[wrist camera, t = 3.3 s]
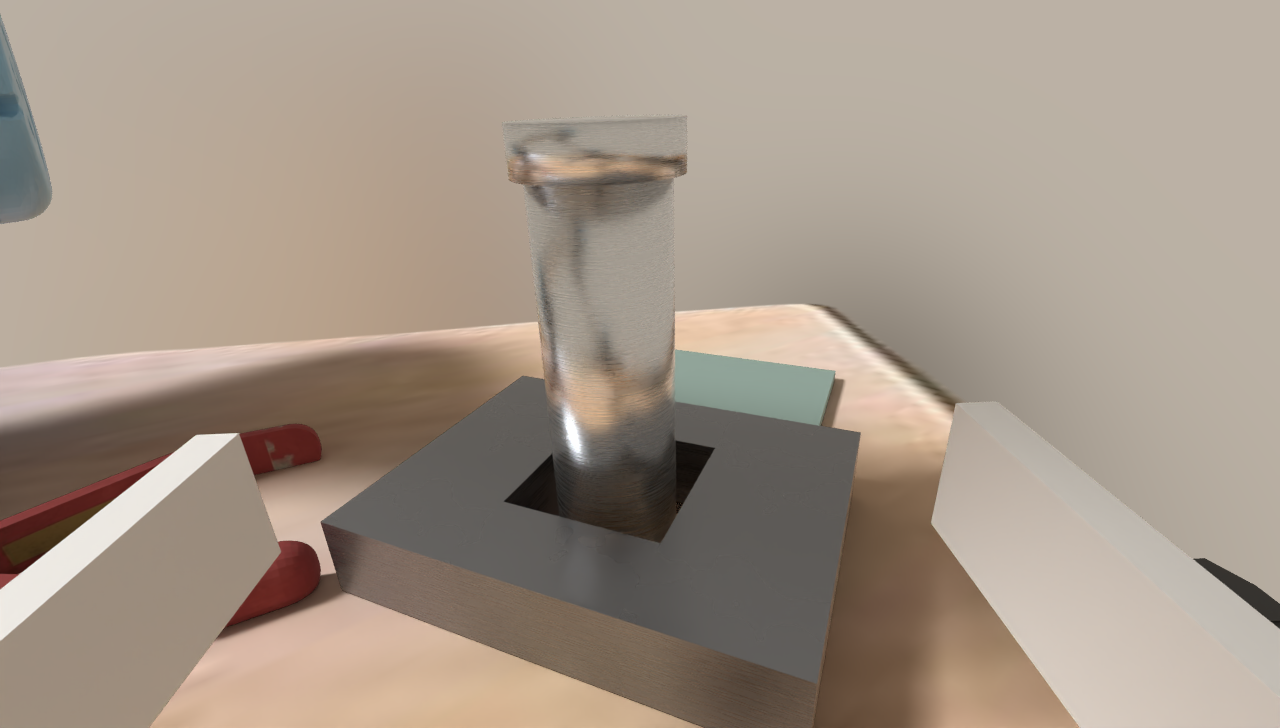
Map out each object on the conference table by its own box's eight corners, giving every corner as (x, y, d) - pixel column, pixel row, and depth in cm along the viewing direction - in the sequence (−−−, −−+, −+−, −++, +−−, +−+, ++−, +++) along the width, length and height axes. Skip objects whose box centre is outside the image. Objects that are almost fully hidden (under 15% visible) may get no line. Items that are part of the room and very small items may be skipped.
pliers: (-258, 590, 22) (-305, 536, 21) (327, 453, 30) (315, 408, 29) (-681, 943, 13) (-804, 877, 12) (327, 612, 21) (308, 554, 20)
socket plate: (342, 590, 21) (320, 521, 20) (529, 427, 31) (522, 375, 30) (806, 766, 15) (816, 683, 14) (852, 494, 25) (860, 432, 24)
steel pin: (525, 565, 22) (462, 124, 16) (591, 486, 26) (561, 117, 20) (657, 606, 20) (644, 121, 14) (704, 513, 24) (710, 113, 18)
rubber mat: (572, 425, 31) (571, 415, 31) (646, 354, 39) (645, 345, 39) (807, 471, 26) (808, 460, 26) (834, 380, 35) (835, 371, 35)
